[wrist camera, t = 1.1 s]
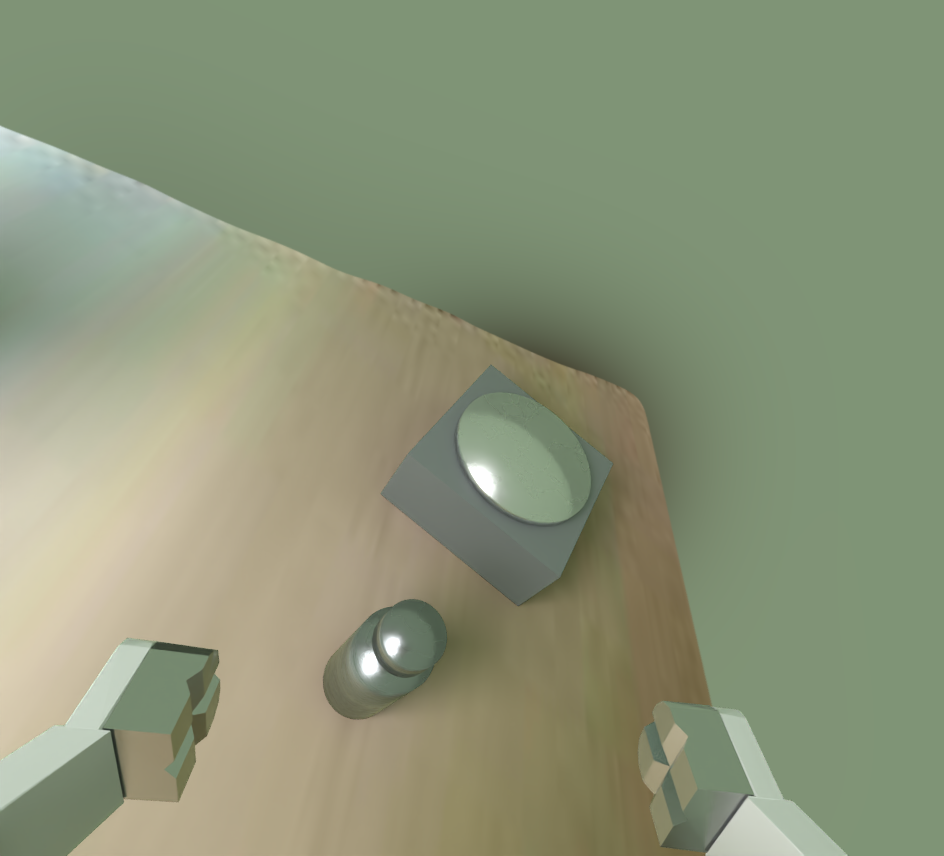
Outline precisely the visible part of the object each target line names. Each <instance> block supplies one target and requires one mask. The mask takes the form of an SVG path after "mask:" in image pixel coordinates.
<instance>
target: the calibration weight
mask: <svg viewBox="0 0 944 856" xmlns="http://www.w3.org/2000/svg"><path fill="white" fill-rule="evenodd" d="M446 643H447V632H446V627H445V624H444V622H443V620H442V618H441V616H440V615H439V613H438V612H437V611H436V610H435V609H434V608H433V607H432V606H431V605H429V604H427V603H426V602H423V601H420V600H415V599H409V600H404V601H401V602H399V603H397V604H396V605H394V606H393V607H387V608H383V609H381V610H379V611H377V612H375V613H374V614H372V615H371V616H370V617H369V618H368V619H367V620H366V621H365V622H364V623H363V624H362V625H361V626H360V627H359V628H358V629H357V630H356V631H355V632H354V633H353V634H352V635H351V636H350V638H349V639H348V640H347V641H346V642H345V643H344V644H343V645H342V646H341V647H340V648H339V649H338V650H337V651H336V652H335V653H334V654H333V655H332V656H331V658H330V659H329V661H328V663H327V665H326V668H325V671H324V676H323V687H324V692H325V696H326V698H327V700H328V702H329V704H330V705H331V706H332V708H333V709H334V710H335V711H336V712H338V713H339V714H341V715H342V716H344V717H347V718H350V719H365V718H369V717H371V716H373V715H375V714H377V713H378V712H380V711H381V710H383V709H384V708H386V707H387V706H389V705H391V704H392V703H394V702H395V701H397V700H398V699H400V698H402V697H403V696H405V695H406V694H408V693H409V692H411V691H412V690H414V689H416V688H417V687H419V686H420V685H421V684H422V683H424V682H425V680H426V679H427V678H428V677H429V675H430V673H431V671H432V669H433V667H434V664H435V663H436V662H437V661H438V660H439V659H440V658H441V656H442V655H443V653H444V650H445V648H446Z"/></svg>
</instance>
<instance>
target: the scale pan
mask: <svg viewBox="0 0 944 856" xmlns="http://www.w3.org/2000/svg"><path fill="white" fill-rule="evenodd" d="M455 448H456V453H457V457H458V460H459V463H460V466H461V468H462V470H463V472H464V474H465V476H466V477H467V479H468V481H469V482H470V484H471V485H472V486H473V488H474V489H475V490H476V491H477V492H478V494H479V495H480V496H481V497H482V498H483V499H484V500H485V501H486V502H488V503H489V504H490V505H491V506H492V507H494V508H495V509H496V510H498V511H499V512H501V513H502V514H504V515H506V516H507V517H509V518H512V519H514V520H516V521H518V522H521V523H525V524H528V525H533V526H554V525H557V524H561V523H563V522H565V521H567V520H568V519H570V518H571V517H572V516H574V515H575V514H576V513H577V512H579V511H580V509H581V508H582V507H583V506H584V504H585V503H586V501H587V499H588V496H589V493H590V488H591V475H590V468H589V464H588V461H587V458H586V455H585V453H584V451H583V448H582V447H581V445H580V443H579V441H578V440H577V438H576V437H575V435H574V434H573V433H572V431H571V430H570V429H569V428H568V426H567V425H566V424H565V423H564V422H563V421H562V420H561V419H560V418H559V417H557V416H556V415H555V414H554V413H553V412H551V411H550V410H549V409H547V408H546V407H544V406H543V405H541V404H539V403H537V402H535V401H533V400H532V399H529V398H527V397H524V396H521V395H517V394H513V393H505V392H496V393H490V394H485V395H483V396H481V397H479V398H477V399H475V400H474V401H473V402H472V403H471V404H469V406H468V407H467V408H466V410H465V411H464V412H463V414H462V415H461V416H460V419H459V421H458V423H457V426H456V430H455Z"/></svg>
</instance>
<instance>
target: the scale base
mask: <svg viewBox="0 0 944 856" xmlns="http://www.w3.org/2000/svg"><path fill="white" fill-rule="evenodd" d="M496 392H505V393H513V394H517V395H521V396H524V397H527V398H529V399H532V400H533V401H535V400H534V399H533V398H532V397H530V396H529V395H528V394H527V393H526V392H524V391H523V390H522V389H521V388H519V387H518V386H517V385H516V384H514V383H513V382H512V381H511V380H509V379H508V378H507V377H506V376H505V375H503V374H502V373H501V372H500V371H498V370H497V369H496V368H495V367H493V366H492V365H490V366H489V367H488V368H487V369H486V370H485V372H484V373H483V374H482V375H481V376H480V377H479V378H478V379H477V380H476V381H475V382H474V383H473V384H472V385H471V387H470V388H469V389H468V390H467V391H466V392H465V393H464V394H463V395H462V396H461V397H460V398H459V399H458V401H457V402H456V403H455V404H454V405H453V406H452V407H451V408H450V409H449V410H448V411H447V412H446V413H445V414H444V416H443V417H442V418H441V419H440V420H439V421H438V422H437V423H436V424H435V425H434V426H433V427H432V428H431V430H430V431H429V432H428V433H427V434H426V435H425V436H424V437H423V438H422V439H421V440H420V441H419V442H418V443H417V445H416V446H415V447H414V448H413V449H412V450H411V451H410V452H409V453H408V454H407V456H406V457H405V459H404V460H403V462H402V463H401V465H400V466H399V468H398V469H397V470H396V472H395V473H394V475H393V476H392V478H391V479H390V481H389V482H388V484H387V485H386V486H385V488H384V489H383V491H382V492H381V495H383V496H384V497H385V498H386V499H387V500H389V501H390V502H391V503H392V504H394V505H395V506H396V507H397V508H398V509H400V510H401V511H402V512H403V513H405V514H406V515H407V516H408V517H409V518H411V519H412V520H413V521H414V522H416V523H417V524H418V525H419V526H421V527H422V528H423V529H424V530H425V531H427V532H428V533H429V534H430V535H432V536H433V537H434V538H435V539H436V540H438V541H439V542H440V543H441V544H443V545H444V546H445V547H446V548H447V549H449V550H450V551H451V552H452V553H454V554H455V555H456V556H457V557H458V558H460V559H461V560H462V561H463V562H465V563H466V564H467V565H468V566H469V567H471V568H472V569H473V570H474V571H476V572H477V573H478V574H479V575H481V576H482V577H483V578H484V579H485V580H487V581H488V582H489V583H490V584H492V585H493V586H494V587H495V588H496V589H498V590H499V591H500V592H501V593H503V594H504V595H505V596H506V597H507V598H509V599H510V600H511V601H512V602H514V603H515V604H516V605H517V606H519V605H520V604H522V603H523V602H525V601H526V600H528V599H529V598H531V597H532V596H534V595H535V594H536V593H538V592H539V591H541V590H542V589H544V588H545V587H547V586H548V585H550V584H551V583H553V582H554V581H555V580H557V579H558V578H560V576H561V574H562V572H563V570H564V568H565V566H566V563H567V561H568V559H569V557H570V555H571V553H572V551H573V548H574V546H575V544H576V542H577V540H578V538H579V536H580V533H581V531H582V529H583V527H584V525H585V523H586V521H587V518H588V516H589V514H590V512H591V510H592V508H593V506H594V503H595V501H596V499H597V497H598V495H599V493H600V491H601V488H602V486H603V484H604V482H605V480H606V478H607V476H608V473H609V471H610V469H611V467H612V465H613V463H612V462H611V461H610V460H608V459H607V458H606V457H605V456H603V455H602V454H601V453H600V452H598V451H597V450H596V449H595V448H593V447H592V446H591V445H590V444H589V443H587V442H586V441H585V440H584V439H582V438H581V437H580V436H579V435H577V434H576V433H575V432H574V431H572V430H571V429H570V428H569V427H568V428H569V429H570V430H571V431H572V433H573V434H574V435H575V437H576V438H577V440H578V441H579V443H580V445H581V447H582V448H583V451H584V453H585V455H586V458H587V461H588V464H589V468H590V475H591V488H590V493H589V496H588V499H587V501H586V503H585V504H584V506H583V507H582V508H581V509H580V511H579V512H577V513H576V514H575V515H574V516H572V517H571V518H570V519H568V520H567V521H565V522H563V523H561V524H557V525H554V526H533V525H528V524H525V523H521V522H518V521H516V520H514V519H512V518H509V517H507V516H506V515H504V514H502V513H501V512H499V511H498V510H496V509H495V508H494V507H492V506H491V505H490V504H489V503H488V502H486V501H485V500H484V499H483V498H482V497H481V496H480V495H479V494H478V492H477V491H476V490H475V489H474V488H473V486H472V485H471V484H470V482H469V481H468V479H467V477H466V476H465V474H464V472H463V470H462V468H461V466H460V463H459V460H458V457H457V453H456V448H455V430H456V426H457V423H458V421H459V419H460V416H461V415H462V414H463V412H464V411H465V410H466V408H467V407H468V406H469V404H471V403H472V402H473V401H474V400H475V399H477V398H479V397H481V396H483V395H485V394H490V393H496ZM535 402H537V401H535ZM537 403H538V402H537Z"/></svg>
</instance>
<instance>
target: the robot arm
mask: <svg viewBox="0 0 944 856" xmlns="http://www.w3.org/2000/svg"><path fill="white" fill-rule="evenodd" d="M218 664H219V655H218V650H213V649H206V648H199V647H192V646H185V645H178V644H171V643H164V642H157V641H149V640H141V639H133V638H127V639H126V640H124V641H123V642H122V643H121V644H120V645H119V646H118V647H117V648H116V650H115V651H114V653H113V654H112V656H111V657H110V659H109V660H108V662H107V663H106V665H105V666H104V668H103V669H102V671H101V672H100V674H99V675H98V677H97V678H96V679H95V681H94V682H93V684H92V685H91V687H90V688H89V690H88V691H87V693H86V694H85V696H84V697H83V699H82V700H81V702H80V703H79V705H78V706H77V708H76V709H75V711H74V712H73V714H72V715H71V717H70V718H69V720H68V721H67V723H66V724H65V726H64V725H54V726H52V727H51V728H49V729H48V730H46V731H45V732H43V733H42V734H40V735H39V736H37V737H36V738H34V739H32V740H31V741H29V742H28V743H26V744H25V745H23V746H22V747H20V748H19V749H17V750H16V751H14V752H12V753H11V754H9V755H8V756H6V757H5V758H3V759H2V760H0V856H67V855H68V854H69V853H70V852H71V851H72V850H73V849H74V848H76V847H77V846H78V845H79V844H80V843H81V842H82V841H83V840H84V839H85V838H86V837H87V836H88V835H89V834H91V833H92V832H93V831H94V830H95V829H96V828H97V827H98V826H99V825H100V824H101V823H102V822H103V821H105V820H106V819H107V818H108V817H109V816H110V815H111V814H112V813H113V812H114V811H115V810H116V809H117V808H119V807H120V806H121V805H122V804H123V803H124V799H134V800H150V801H166V802H179V800H180V797H181V795H182V793H183V790H184V788H185V786H186V783H187V781H188V779H189V776H190V774H191V772H192V769H193V767H194V765H195V763H196V757H195V745H196V744H197V743H199V742H200V741H201V740H202V739H204V738H205V737H206V736H207V734H208V732H209V729H210V727H211V724H212V722H213V719H214V716H215V712H216V709H217V705H218V702H219V694H220V679H219V678H218V677H217V676H216V675H215V674H214V673H215V671H216V669H217V667H218ZM652 714H653V717H654V720H655V721H654V722H653V723H651V724H649V725H647V726H646V727H644V729H643V731H642V734H641V736H640V738H639V745H638V761H639V768H640V772H641V776H642V780H643V782H644V783H645V784H646V785H647V787H648V788H649V789H650V790H651V791H652V793H653V794H654V796H653V799H652V801H651V804H650V810H651V814H652V818H653V822H654V825H655V829H656V833H657V836H658V840H659V844H660V847H666V848H674V849H682V850H690V851H698V852H706V856H848V855H847V854H846V853H845V852H844V851H843V850H842V849H841V848H840V847H839V846H838V845H837V844H836V843H835V842H834V841H833V840H832V839H831V838H830V837H829V836H828V835H827V834H826V833H825V832H824V831H823V830H822V829H821V828H820V827H819V826H818V825H817V824H816V823H815V822H813V820H812V819H810V818H809V817H808V816H807V815H806V814H805V813H804V812H803V811H802V810H801V809H800V808H799V807H798V806H797V805H796V804H795V803H794V802H793V801H792V800H786V799H784V798H783V795H782V793H781V792H780V789H779V787H778V785H777V783H776V781H775V779H774V776H773V774H772V772H771V770H770V768H769V766H768V764H767V762H766V759H765V757H764V755H763V753H762V751H761V749H760V747H759V745H758V743H757V741H756V738H755V736H754V734H753V732H752V730H751V728H750V726H749V724H748V722H747V719H746V717H745V716H744V715H743V713H741V711H740V710H737V709H730V708H720V707H711V706H709V705H699V704H689V703H679V702H669V701H661V702H659V703H657V704H656V706H655V708H654V710H653V712H652Z"/></svg>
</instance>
